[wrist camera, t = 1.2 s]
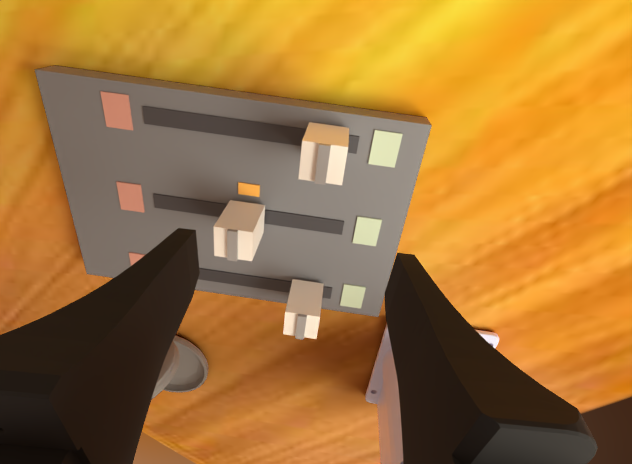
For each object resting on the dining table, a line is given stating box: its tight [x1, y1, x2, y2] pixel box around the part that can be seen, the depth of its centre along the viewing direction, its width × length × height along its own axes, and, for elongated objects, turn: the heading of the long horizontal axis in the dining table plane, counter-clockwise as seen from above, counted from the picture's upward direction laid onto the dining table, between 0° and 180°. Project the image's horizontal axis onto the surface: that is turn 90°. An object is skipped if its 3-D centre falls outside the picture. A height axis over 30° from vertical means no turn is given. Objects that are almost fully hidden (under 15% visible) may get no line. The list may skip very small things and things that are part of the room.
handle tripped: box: [213, 200, 265, 261], centre depth 21 cm, size 2×2×3 cm
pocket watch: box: [151, 335, 208, 400], centre depth 27 cm, size 8×8×10 cm
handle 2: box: [283, 279, 324, 340], centre depth 23 cm, size 2×2×3 cm
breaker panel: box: [35, 65, 431, 317], centre depth 23 cm, size 13×20×2 cm, turn 83°
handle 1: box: [298, 122, 349, 185], centre depth 18 cm, size 2×2×3 cm
